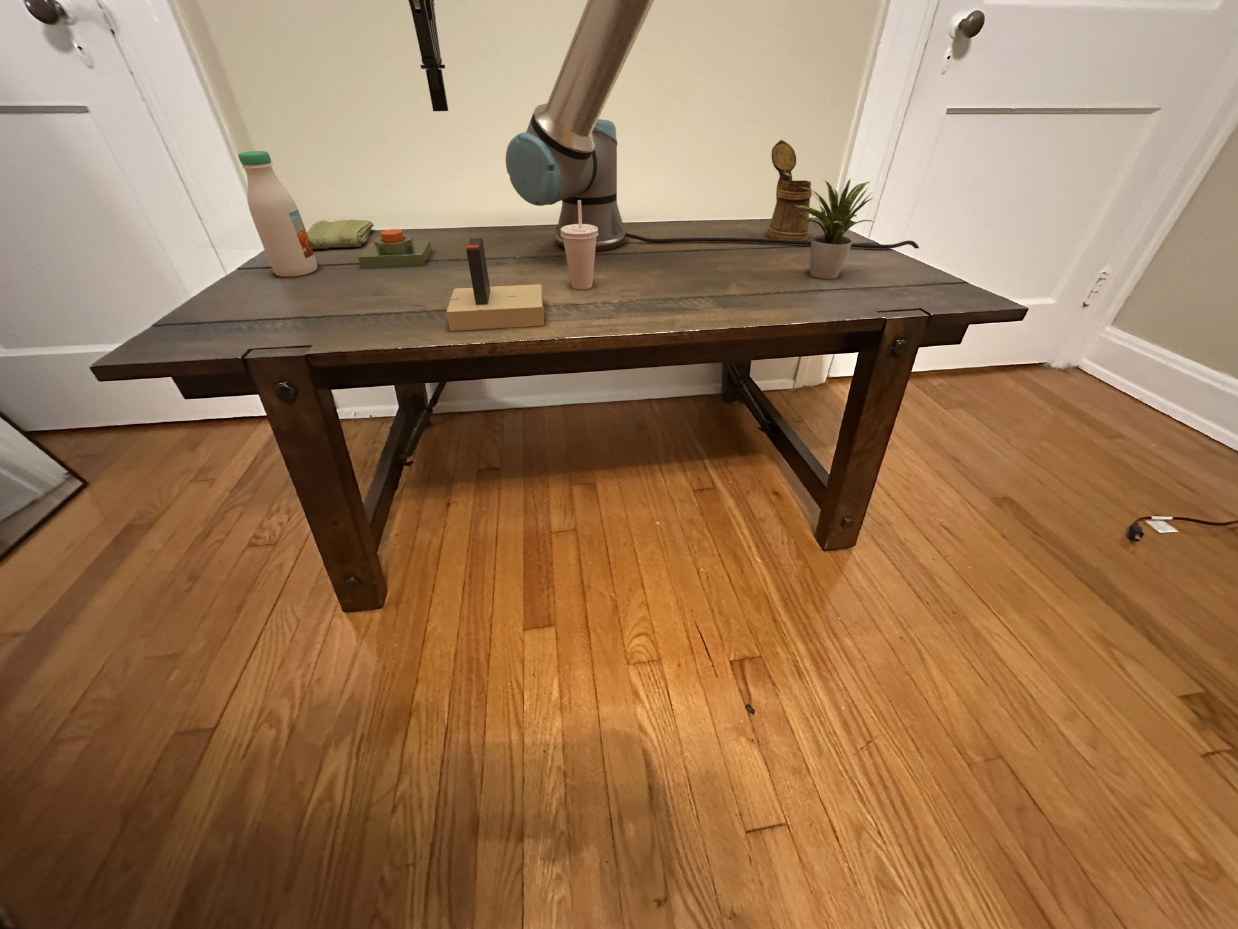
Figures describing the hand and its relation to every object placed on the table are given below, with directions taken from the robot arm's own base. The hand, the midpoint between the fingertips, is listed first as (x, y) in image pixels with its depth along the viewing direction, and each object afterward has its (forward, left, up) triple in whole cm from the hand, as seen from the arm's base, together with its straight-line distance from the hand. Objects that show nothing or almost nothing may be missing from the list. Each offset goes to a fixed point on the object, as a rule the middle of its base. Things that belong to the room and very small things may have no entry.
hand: (440, 110), depth 103 cm
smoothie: (-24, +32, -25) cm, 47 cm away
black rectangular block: (-8, +44, -21) cm, 50 cm away
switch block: (+12, +11, -24) cm, 29 cm away
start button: (+12, +11, -21) cm, 26 cm away
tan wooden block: (-10, +44, -24) cm, 51 cm away
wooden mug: (-72, +4, -25) cm, 76 cm away
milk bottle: (+30, +16, -25) cm, 42 cm away
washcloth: (+28, -6, -25) cm, 38 cm away
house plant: (-70, +31, -25) cm, 80 cm away
